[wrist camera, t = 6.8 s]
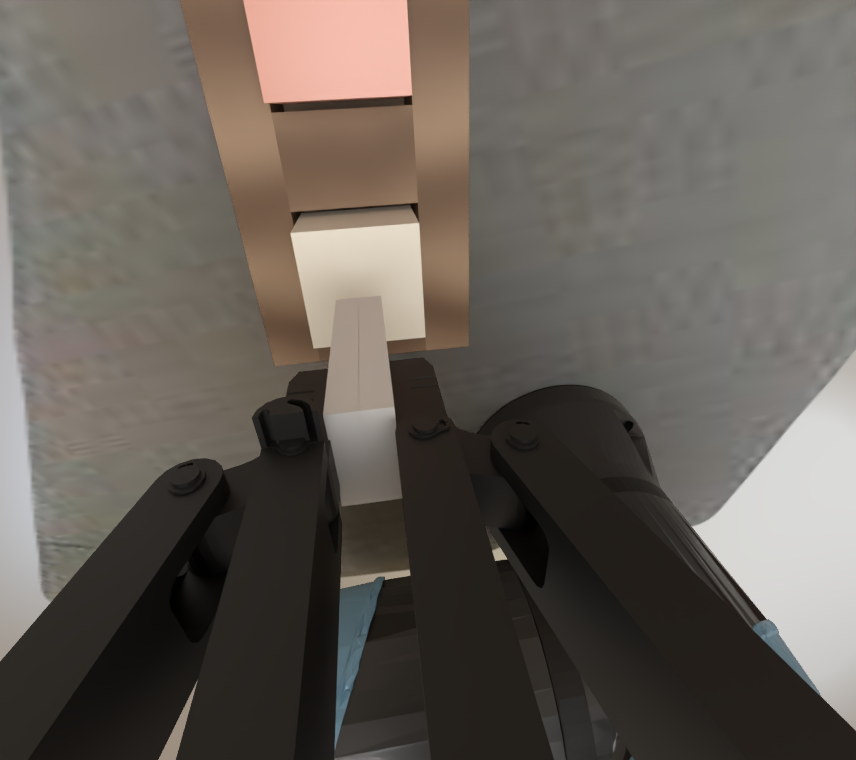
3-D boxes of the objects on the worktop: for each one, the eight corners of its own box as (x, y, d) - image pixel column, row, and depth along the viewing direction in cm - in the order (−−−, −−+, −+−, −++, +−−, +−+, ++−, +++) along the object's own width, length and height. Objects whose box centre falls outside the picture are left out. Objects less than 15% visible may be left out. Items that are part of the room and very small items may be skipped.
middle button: (402, 97, 20) (412, 95, 17) (280, 104, 20) (263, 103, 16) (392, -66, 17) (400, -111, 14) (250, -63, 17) (221, -109, 13)
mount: (450, 307, 31) (469, 345, 26) (288, 322, 30) (274, 366, 25) (432, -513, 15) (469, -820, 10) (94, -536, 14) (-51, -887, 9)
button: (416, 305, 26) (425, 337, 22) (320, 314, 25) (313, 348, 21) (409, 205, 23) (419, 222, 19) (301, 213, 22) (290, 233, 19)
